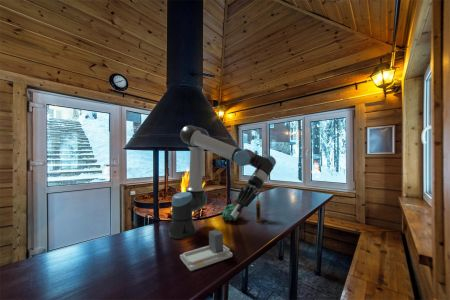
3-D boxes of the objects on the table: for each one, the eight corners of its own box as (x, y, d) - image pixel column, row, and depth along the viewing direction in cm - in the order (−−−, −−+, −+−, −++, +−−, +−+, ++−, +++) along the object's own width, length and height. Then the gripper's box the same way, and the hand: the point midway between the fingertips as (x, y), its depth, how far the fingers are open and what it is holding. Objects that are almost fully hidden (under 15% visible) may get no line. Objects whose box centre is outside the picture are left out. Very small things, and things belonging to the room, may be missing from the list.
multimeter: (271, 225, 127) (270, 194, 128) (256, 224, 129) (255, 193, 130) (271, 218, 141) (270, 190, 142) (257, 217, 143) (256, 190, 144)
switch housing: (218, 246, 98) (218, 241, 98) (232, 256, 88) (232, 250, 88) (180, 258, 87) (180, 252, 87) (190, 271, 77) (190, 264, 77)
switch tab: (216, 246, 94) (216, 229, 94) (223, 251, 89) (222, 233, 89) (209, 248, 92) (208, 231, 92) (215, 254, 86) (215, 235, 87)
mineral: (216, 217, 146) (216, 203, 147) (236, 215, 151) (236, 202, 151) (224, 225, 129) (224, 209, 129) (246, 222, 133) (246, 207, 134)
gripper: (270, 185, 101) (245, 224, 92) (253, 182, 112) (230, 217, 103) (262, 175, 99) (236, 215, 89) (245, 174, 110) (221, 209, 100)
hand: (232, 216), depth 96 cm, fingers closed
